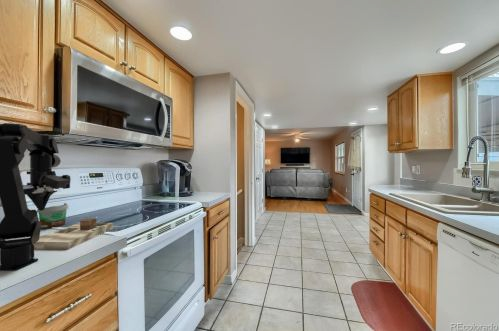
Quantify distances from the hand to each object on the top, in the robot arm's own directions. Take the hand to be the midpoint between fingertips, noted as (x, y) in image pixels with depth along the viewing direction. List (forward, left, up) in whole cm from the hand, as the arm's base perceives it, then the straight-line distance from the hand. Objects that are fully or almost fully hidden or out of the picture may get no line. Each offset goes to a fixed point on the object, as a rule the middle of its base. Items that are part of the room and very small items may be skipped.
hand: (41, 210), depth 79 cm
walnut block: (+12, -8, -10) cm, 18 cm away
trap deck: (+9, -5, -13) cm, 17 cm away
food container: (+23, +16, -13) cm, 31 cm away
